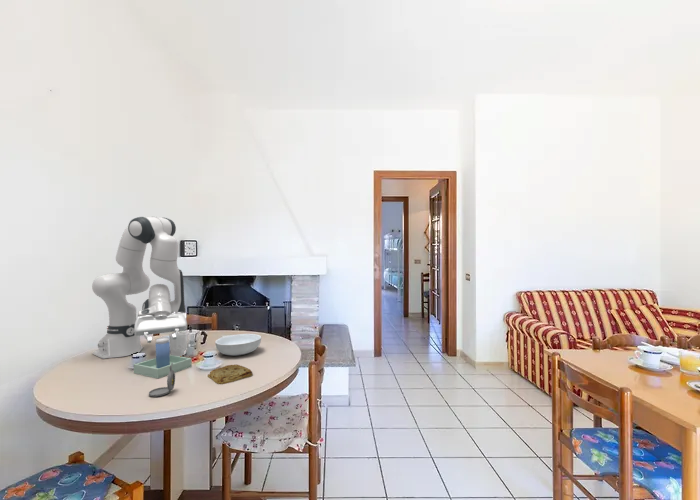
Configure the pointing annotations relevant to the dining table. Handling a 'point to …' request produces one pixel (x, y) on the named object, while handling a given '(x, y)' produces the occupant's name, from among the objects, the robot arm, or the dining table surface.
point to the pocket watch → (167, 389)
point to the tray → (150, 367)
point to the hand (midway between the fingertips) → (162, 340)
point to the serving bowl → (238, 344)
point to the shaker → (162, 352)
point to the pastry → (229, 374)
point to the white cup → (178, 343)
